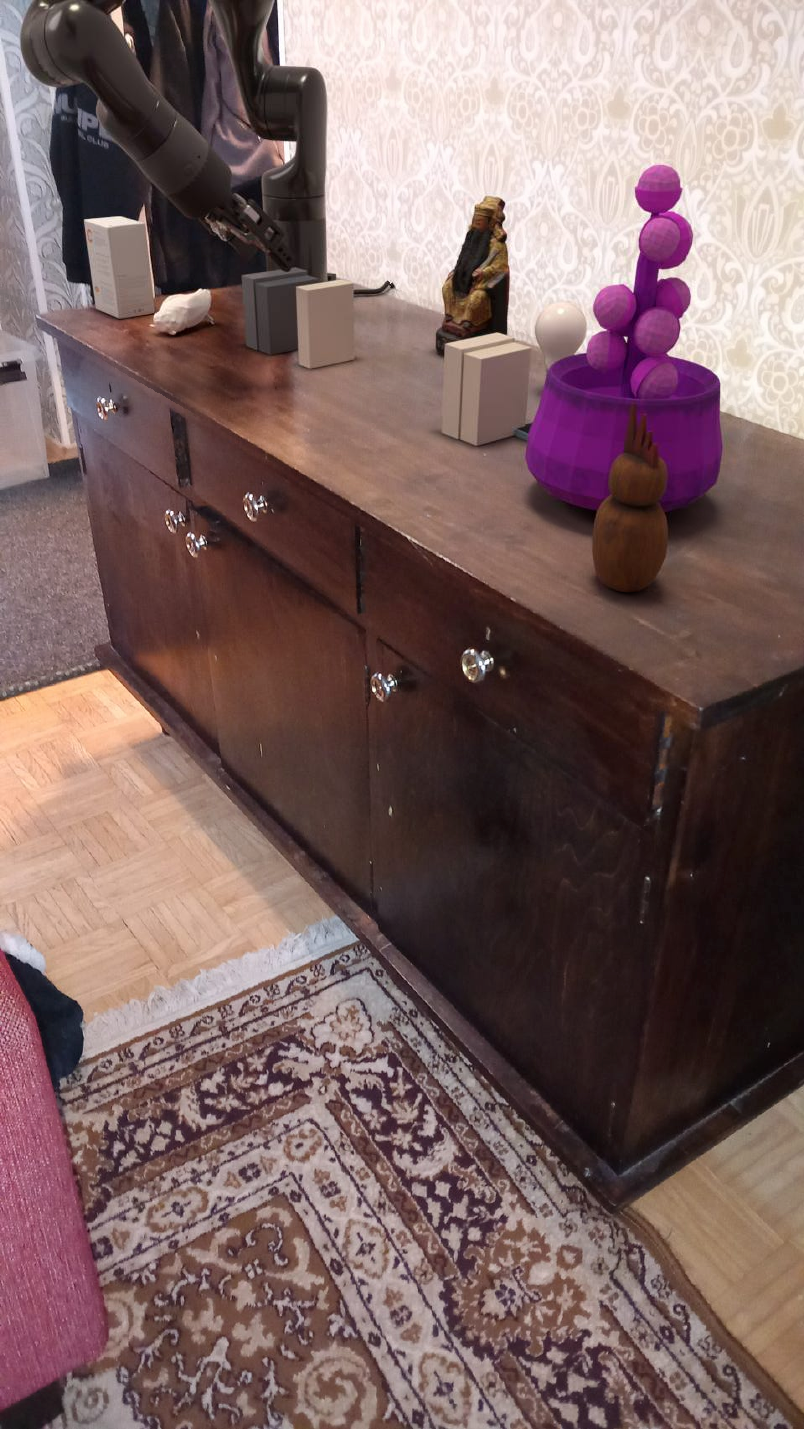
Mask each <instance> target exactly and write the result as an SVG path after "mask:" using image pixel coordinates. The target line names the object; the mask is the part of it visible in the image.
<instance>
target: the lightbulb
mask: <svg viewBox="0 0 804 1429" xmlns="http://www.w3.org/2000/svg"><path fill="white" fill-rule="evenodd" d="M587 331H588V321H587V318H586V316H585V313H584V312H583V311H582V309H581V308H580V307H579V306H578V305H576V304H574V303H573V302H570V301H565V300H559V301H554V302H552V303H549V304H548V305H546V306H545V307H544V308H543V309H542V310H541V311H540V313H538V316H537V318H536V321H535V325H534V336H535V339H536V342H537V344H538V346H539V348H540V350H541V353H542V355H543V361H544V362H543V363H544V366H545V377H546V376H547V372H548V370H549V368H550V367H551V365H552V364H553V363H555V362H556V361H558V360H560V359H562V358H565V357H568V356H572V355H576V353H577V352H578V350H579V349H580V347H581V346H582V345H583V343H584V341H585V339H586V338H587Z"/></svg>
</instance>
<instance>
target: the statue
mask: <svg viewBox="0 0 804 1429" xmlns="http://www.w3.org/2000/svg"><path fill="white" fill-rule="evenodd" d="M505 208H506V201H505V200H503V199H502V198H501V197H499V196H492V195H485V196H484V197H483V200H482V201H480V203H475V205H474V208H473V215H472V218H471V223H470V224H469V225H468V231H467V232H466V235H465V237H464V241H463V244H462V245H461V248H460V253H459V255H458V256H457V260H456V263H455V265H454V268H453V269H452V270H451V271H450V272H449V273H448V274H447V277H446V279H445V280H444V283H443V285H442V287H441V295H442V296H441V297H442V300H443V306H444V315H445V316H444V318H443V320H442V321H441V322H442V323H441V326H440V327H439V328H438V329H436V332H435V349H436V350H435V351H437V353H439V354H440V355H442V356H444V355H445V344H447V343H451V342H456V341H461V340H465V339H470V338H475V337H479V336H484V335H488V334H493V333H501V334H504V335H507V336H508V318H509V317H508V316H509V305H510V288H511V287H510V284H511V270H510V269H511V268H510V265H509V250H508V249H509V248H508V245H507V243H506V242H507V240H508V233H507V232H506V230H505V229H504V227H503V224H504V222H505V221H506V213H504V210H505Z"/></svg>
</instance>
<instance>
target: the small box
mask: <svg viewBox="0 0 804 1429" xmlns="http://www.w3.org/2000/svg"><path fill="white" fill-rule="evenodd" d="M83 224H84V229H85V230H84V232H85V239H86V246H87V253H88V262H89V267H90V268H89V269H90V275H91V282H92V289H93V296H94V305H95V309H96V310H98V311H99V312H103V313H105V314H108V315H110V316H112V317H114V318H116V319H119V320H120V319H128V318H133V317H139V316H145V315H151V314H155V313H156V310H155V309H156V308H155V299H154V291H153V283H152V273H151V265H150V256H149V248H148V238H147V230H146V223H145V222H142V221H138V220H136V219H135V220H134V219H131V218H129V217H128V218H127V217H125V216H121V215H119V216H117V215H116V216H109V217H107V216H105V217H97V218H85V219H83Z"/></svg>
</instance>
